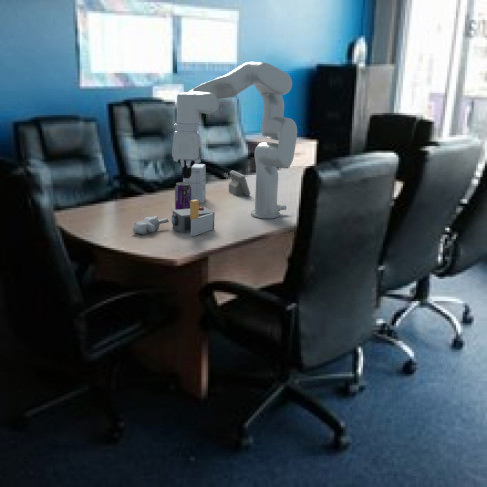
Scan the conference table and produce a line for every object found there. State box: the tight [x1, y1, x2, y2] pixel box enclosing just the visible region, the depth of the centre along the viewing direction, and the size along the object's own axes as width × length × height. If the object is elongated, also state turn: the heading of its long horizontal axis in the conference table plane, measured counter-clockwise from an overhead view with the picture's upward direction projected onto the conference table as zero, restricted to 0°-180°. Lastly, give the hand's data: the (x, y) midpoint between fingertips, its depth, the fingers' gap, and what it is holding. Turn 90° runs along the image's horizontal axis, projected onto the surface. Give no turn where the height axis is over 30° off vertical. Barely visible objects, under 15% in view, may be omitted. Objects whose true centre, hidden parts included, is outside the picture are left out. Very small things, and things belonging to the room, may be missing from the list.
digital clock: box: [228, 169, 251, 197], centre depth 289 cm, size 16×9×11 cm, turn 12°
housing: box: [171, 206, 215, 234], centre depth 227 cm, size 15×9×8 cm, turn 118°
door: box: [190, 199, 215, 237], centre depth 220 cm, size 13×2×14 cm, turn 143°
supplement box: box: [182, 163, 207, 204], centre depth 271 cm, size 10×9×17 cm
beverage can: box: [174, 181, 191, 210], centre depth 253 cm, size 7×7×12 cm
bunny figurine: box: [132, 215, 169, 236], centre depth 224 cm, size 10×5×15 cm
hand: (186, 177), depth 215 cm, fingers closed
